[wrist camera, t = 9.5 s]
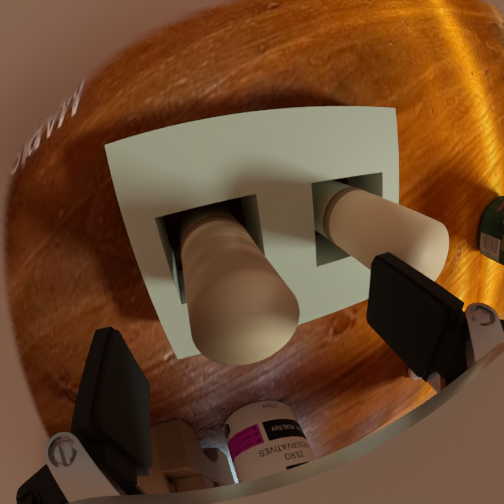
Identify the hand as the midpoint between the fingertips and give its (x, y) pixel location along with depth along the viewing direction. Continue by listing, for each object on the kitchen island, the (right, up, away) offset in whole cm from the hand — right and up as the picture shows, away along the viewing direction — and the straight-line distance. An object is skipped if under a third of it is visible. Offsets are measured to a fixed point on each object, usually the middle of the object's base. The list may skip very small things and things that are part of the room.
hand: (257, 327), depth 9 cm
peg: (-3, +4, +8) cm, 10 cm away
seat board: (+1, +5, +9) cm, 10 cm away
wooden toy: (-9, -23, +19) cm, 31 cm away
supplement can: (0, -17, +19) cm, 25 cm away
